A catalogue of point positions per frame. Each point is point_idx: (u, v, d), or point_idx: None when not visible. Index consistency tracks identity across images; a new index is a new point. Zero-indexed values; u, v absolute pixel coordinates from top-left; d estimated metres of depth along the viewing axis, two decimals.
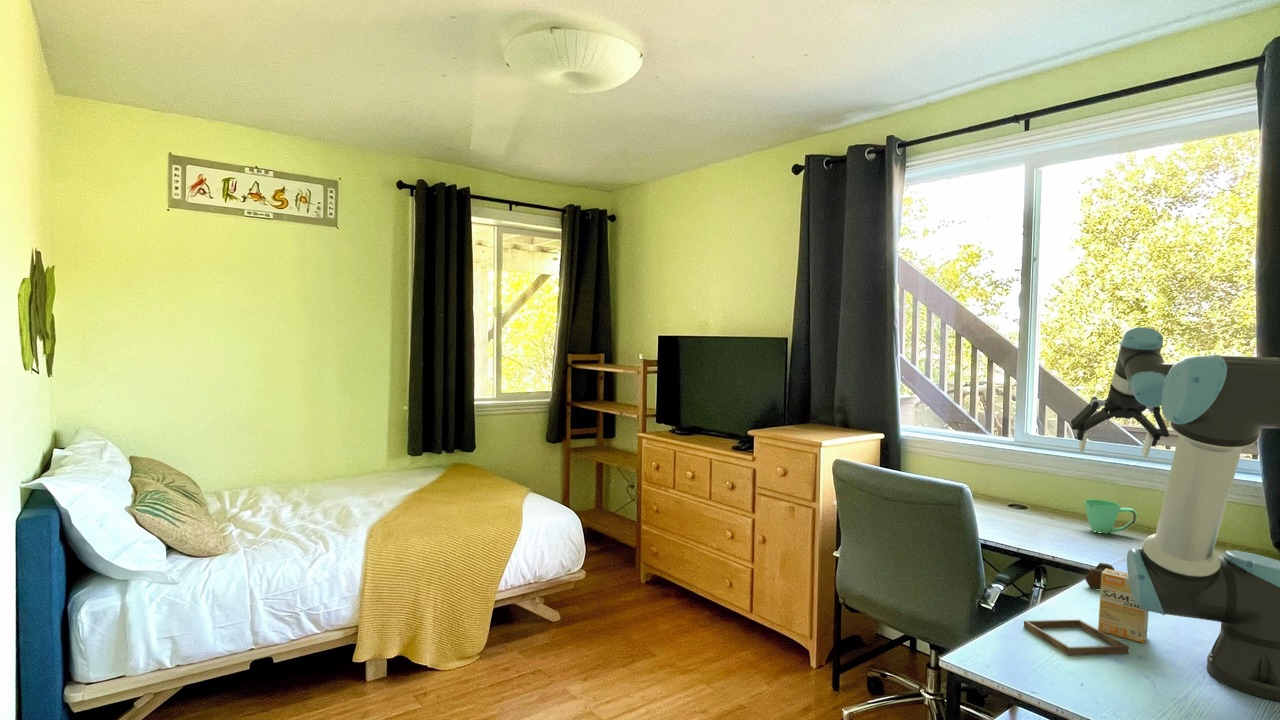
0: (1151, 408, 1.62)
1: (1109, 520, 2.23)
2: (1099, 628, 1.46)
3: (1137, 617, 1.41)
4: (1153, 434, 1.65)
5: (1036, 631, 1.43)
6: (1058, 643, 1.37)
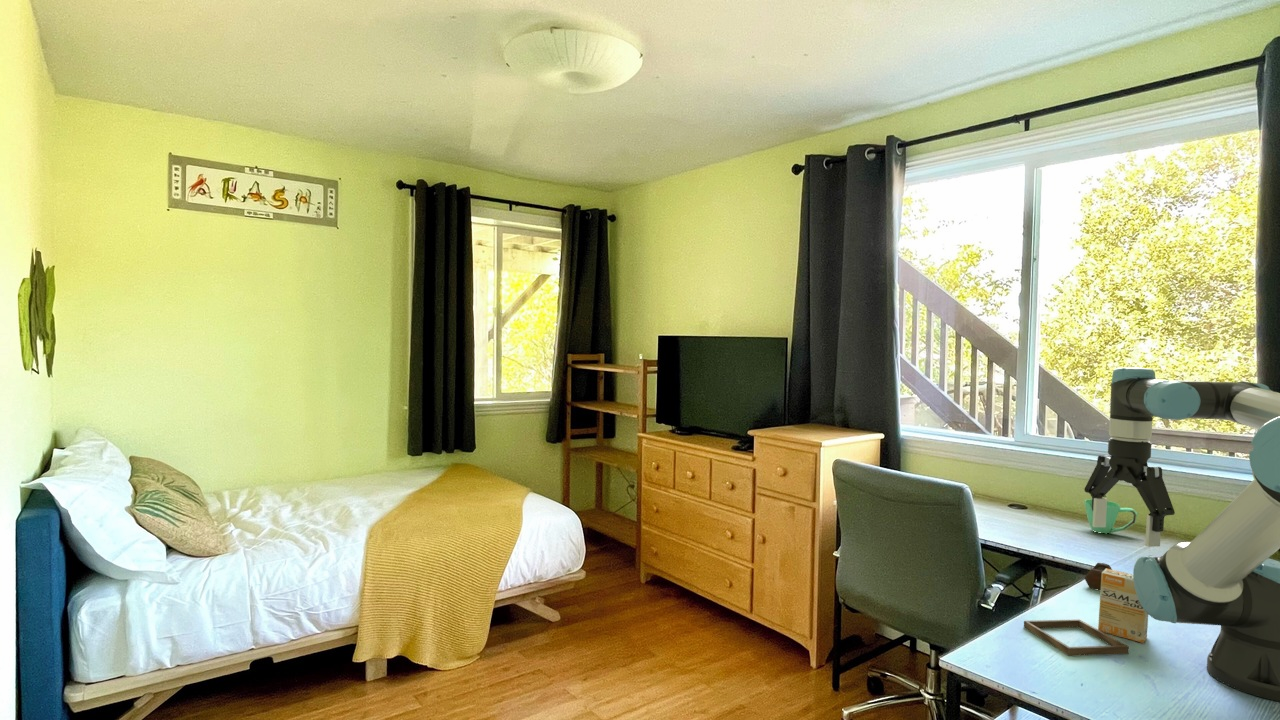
0: None
1: (1109, 520, 2.23)
2: (1099, 628, 1.46)
3: (1137, 617, 1.41)
4: (1150, 509, 1.38)
5: (1036, 631, 1.43)
6: (1058, 643, 1.37)
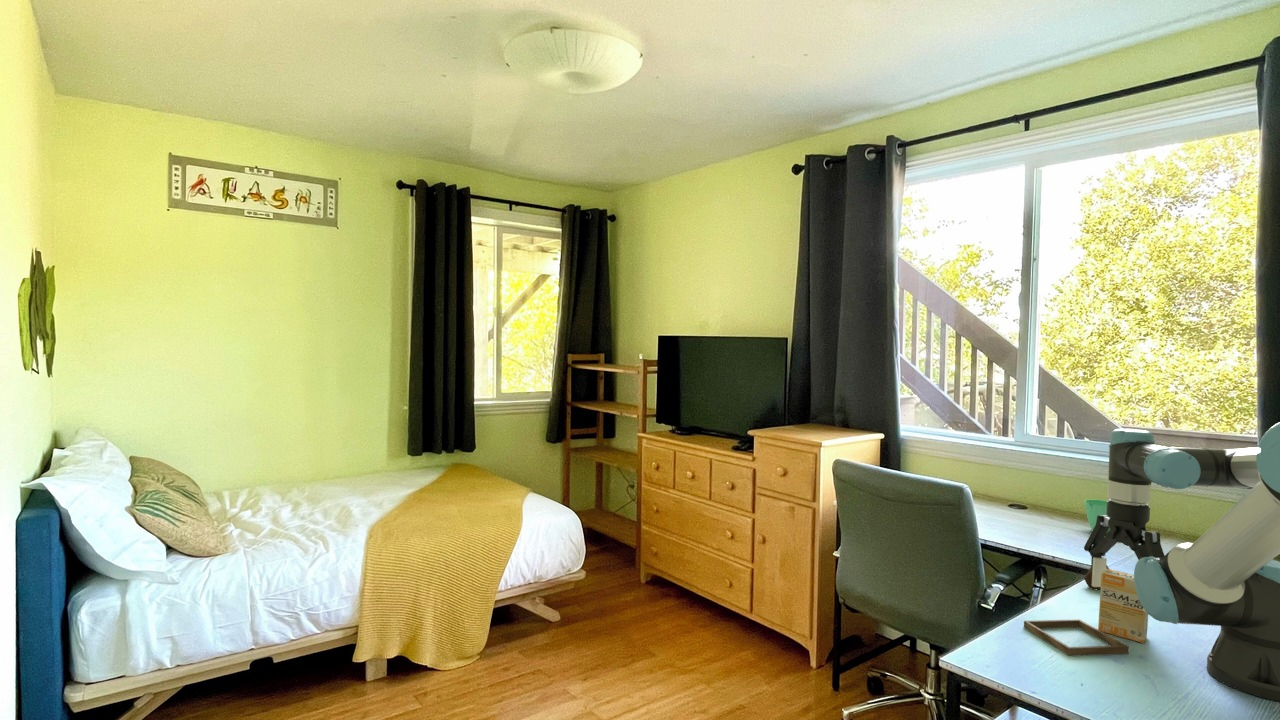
0: None
1: None
2: (1099, 628, 1.46)
3: (1137, 617, 1.41)
4: None
5: (1036, 631, 1.43)
6: (1058, 643, 1.37)
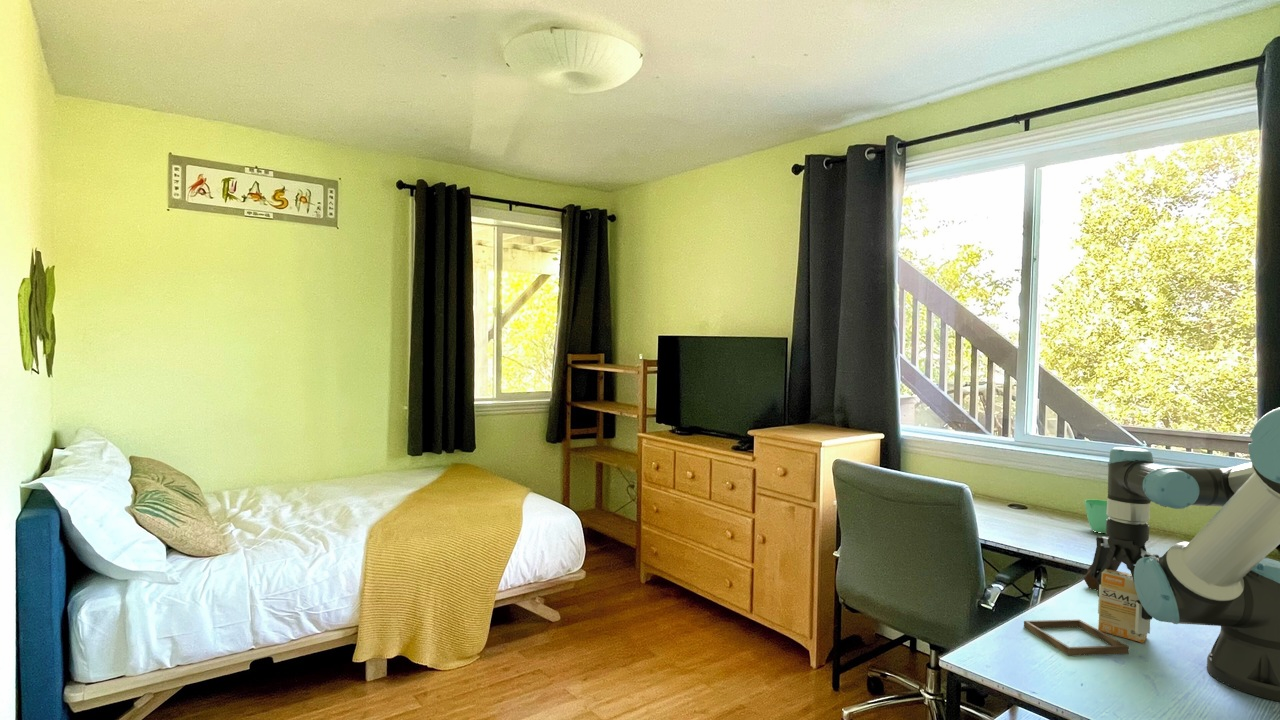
0: (1145, 557, 1.39)
1: None
2: (1099, 628, 1.46)
3: None
4: None
5: (1036, 631, 1.43)
6: (1058, 643, 1.37)
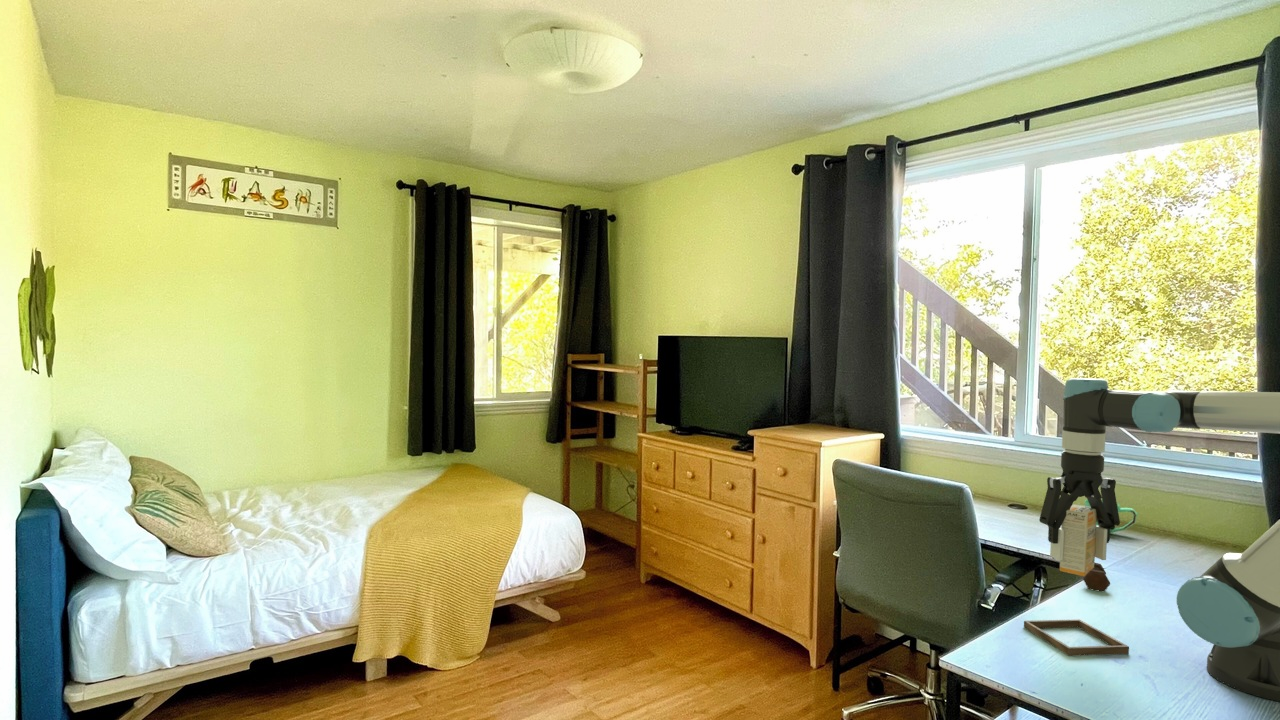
0: (1105, 483, 1.41)
1: None
2: (1085, 573, 1.37)
3: (1094, 545, 1.41)
4: (1106, 522, 1.40)
5: (1036, 631, 1.43)
6: (1058, 643, 1.37)
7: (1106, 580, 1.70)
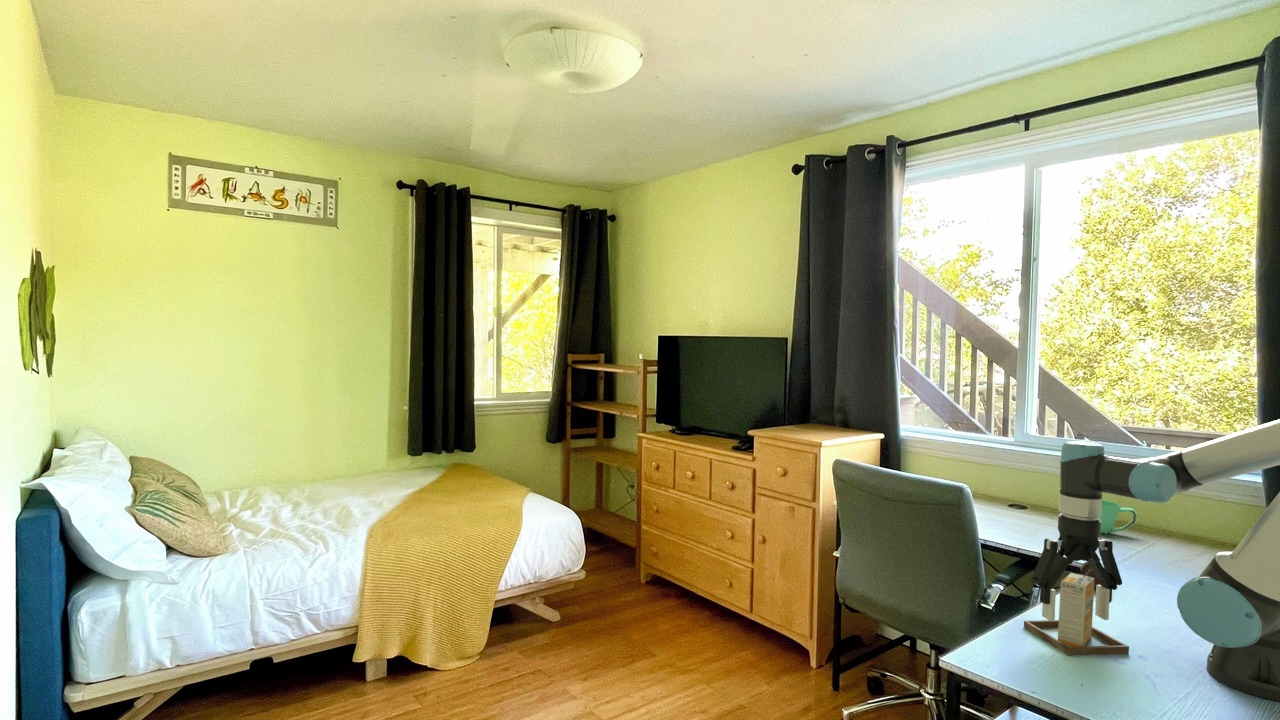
0: (1102, 545, 1.41)
1: (1109, 520, 2.23)
2: (1083, 645, 1.37)
3: (1092, 615, 1.42)
4: (1108, 583, 1.41)
5: (1036, 631, 1.43)
6: (1058, 643, 1.37)
7: None
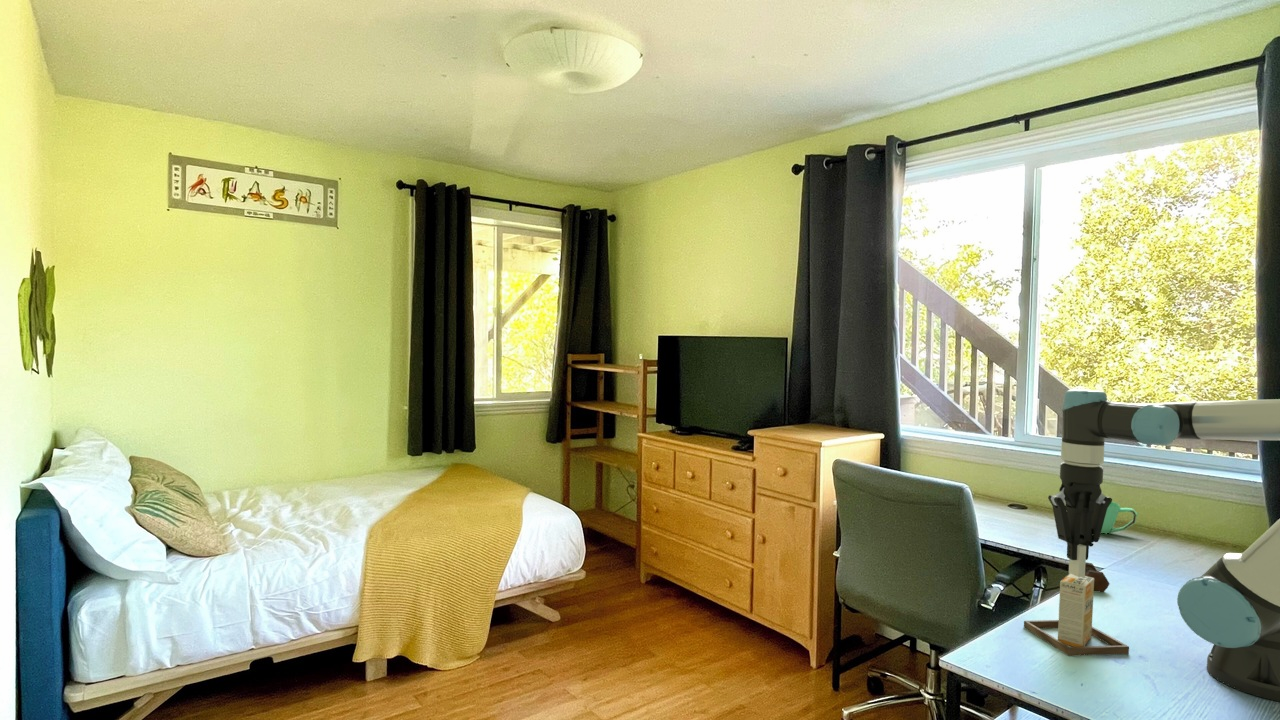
0: (1102, 498, 1.41)
1: (1109, 520, 2.23)
2: (1083, 645, 1.37)
3: (1091, 615, 1.42)
4: (1087, 538, 1.40)
5: (1036, 631, 1.43)
6: (1058, 643, 1.37)
7: (1106, 581, 1.70)
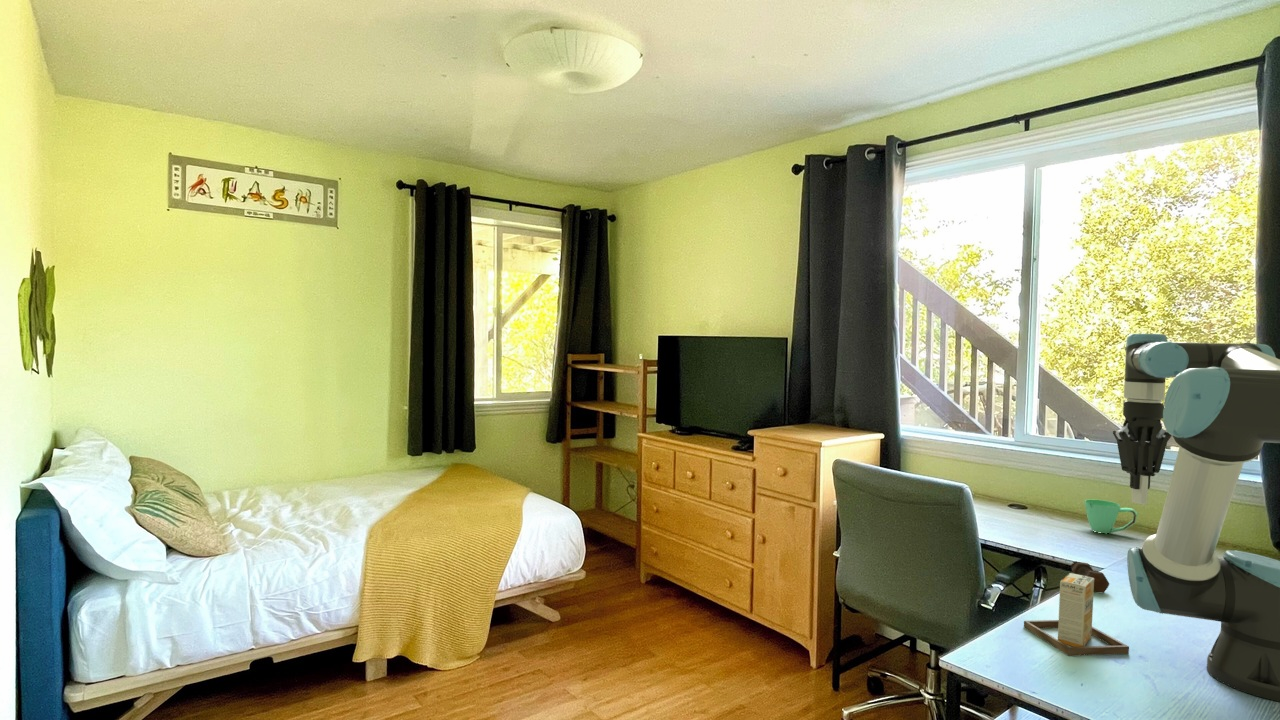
0: (1162, 433, 1.54)
1: (1109, 520, 2.23)
2: (1083, 645, 1.37)
3: (1091, 615, 1.42)
4: (1149, 469, 1.53)
5: (1036, 631, 1.43)
6: (1058, 643, 1.37)
7: (1106, 581, 1.69)
